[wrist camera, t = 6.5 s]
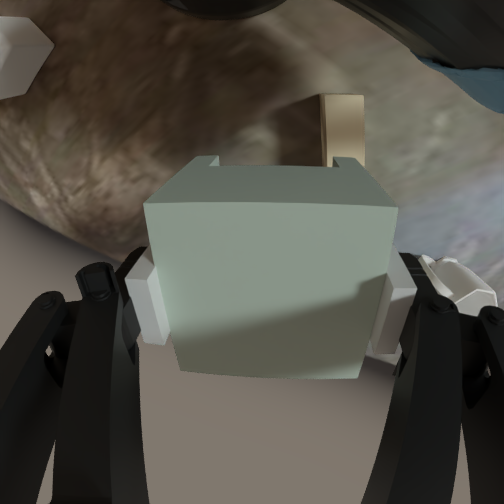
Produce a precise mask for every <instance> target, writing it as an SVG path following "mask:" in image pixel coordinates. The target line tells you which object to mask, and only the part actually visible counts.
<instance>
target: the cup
mask: <svg viewBox="0 0 504 504" xmlns="http://www.w3.org/2000/svg"><path fill="white" fill-rule="evenodd" d="M418 261H419V262H420V264H421V265H422V267H423V270H424V271H425V272H426V274H427V276H428V277H429V279H430V281H431V282H432V284H433V286H434V288H435V289H436V291H437V293H438V294H439V295H442V296H445V297H447V298H449V299H450V300H452V301H453V302H454V303H455V304H456V306H457V308H458V311H459V313H463V314H467V315H472V316H478V314H479V312H480V309H481V308H482V307H484V306H488V305H491V306H496V307H497V300H496V293H495V291H494V290H493V289H491V288H490V287H489V286H488V285H487V284H486V283H485V282H484V281H482V280H481V279H480V278H479V277H478V276H477V275H476V274H475V273H474V272H472V271H471V270H470V269H468V268H466V267H465V266H463V265H462V264H459V263H458V262H457V260H456V259H454V258H450V257H446V256H445V257H443V258H441V259H440V260H438V261H434V260H433V259H432V258H430V257H429V256H426V255H422V256H421V257H420V258H419V259H418ZM428 265H429V266H431V269H430V267H429V266H428Z"/></svg>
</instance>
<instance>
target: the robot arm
mask: <svg viewBox="0 0 504 504" xmlns="http://www.w3.org/2000/svg"><path fill="white" fill-rule="evenodd" d="M161 1H162V2H164V3H165V4H167V5H169V6H171V7H172V8H174V9H176V10H177V11H180V12H182V13H184V14H187V15H190V16H193V17H197V18H202V19H209V20H232V19H240V18H245V17H250V16H254V15H257V14H260V13H263V12H266V11H268V10H270V9H273V8H275V7H276V6H278V5H280V4H282V3H283V2H285V1H286V0H161ZM334 1H336V2H338V3H340V4H342V5H343V6H345V7H347V8H349V9H351V10H352V11H354V12H356V13H357V14H359V15H361V16H362V17H364V18H366V19H367V20H369V21H370V22H372V23H373V24H375V25H376V26H378V27H379V28H381V29H382V30H384V31H385V32H387V33H388V34H390V35H391V36H393V37H394V38H395V39H397V40H398V41H400V42H401V43H402V44H404V45H405V46H406V47H408V48H409V49H410V51H411V52H412V53H413V54H414V55H415V56H416V57H417V58H418V60H420V61H421V62H422V63H423V64H425V65H427V66H428V67H430V68H432V69H434V70H437V71H439V72H442V73H443V74H444V75H446V76H447V77H448V78H449V79H451V80H452V81H453V82H454V83H455V84H457V85H458V86H459V87H460V88H461V89H463V90H464V91H465V92H466V93H467V94H468V95H469V96H471V97H472V98H473V99H474V100H476V101H477V102H479V103H480V104H482V105H483V106H485V107H487V108H489V109H491V110H493V111H495V112H497V113H502V114H504V0H334ZM75 277H76V280H77V283H78V286H79V289H80V291H81V294H82V297H83V298H82V300H80V301H72V302H65V299H64V297H63V295H62V294H61V293H60V292H58V291H49V292H46V293H43V294H41V295H40V296H39V297H37V298H36V299H35V300H34V301H33V302H32V304H31V305H30V307H29V308H28V309H27V311H26V312H25V314H24V315H23V317H22V318H21V320H20V321H19V322H18V324H17V325H16V327H15V328H14V330H13V331H12V333H11V334H10V336H9V337H8V339H7V340H6V342H5V344H4V345H3V346H2V348H1V350H0V504H36V502H37V498H38V494H39V491H40V487H41V484H42V480H43V477H44V473H45V470H46V467H47V463H48V460H49V457H50V454H51V451H52V448H53V445H54V442H55V452H54V468H53V491H52V500H51V502H50V504H149V497H148V490H147V482H146V473H145V464H144V453H143V441H142V428H141V411H140V385H139V347H138V344H137V342H136V339H137V337H138V335H139V333H140V331H141V334H142V336H143V340H144V343H150V344H158V345H165V342H166V340H167V338H168V335H169V333H170V327H169V323H168V319H167V315H166V310H165V306H164V302H163V297H162V293H161V288H160V284H159V279H158V274H157V270H156V266H155V265H154V261H153V256H152V251H151V245H149V246H148V247H139V248H137V249H136V250H134V251H133V252H131V253H130V254H129V256H128V257H127V258H126V259H125V261H124V262H123V263H122V264H121V266H120V267H119V269H118V270H117V271H116V272H115V273H114V269H113V266H112V265H111V264H109V263H105V262H97V263H93V264H90V265H87V266H85V267H83V268H82V269H81V270H79V271H78V272H77V274H76V276H75ZM370 340H371V344H372V348H373V353H374V354H395V351H396V349H397V346H398V344H399V342H400V345H401V348H402V354H401V356H400V358H399V361H398V363H397V365H396V368H395V370H394V372H393V375H394V376H395V375H396V377H395V383H394V388H393V393H392V397H391V402H390V406H389V411H388V415H387V419H386V423H385V427H384V431H383V435H382V439H381V443H380V446H379V450H378V453H377V456H376V460H375V463H374V466H373V470H372V473H371V476H370V479H369V482H368V485H367V488H366V491H365V493H364V496H363V499H362V502H361V504H450V503H451V498H452V493H453V487H454V481H455V475H456V468H457V461H458V451H459V442H460V430H461V423H462V429H463V434H464V441H465V448H466V455H467V463H468V472H469V482H470V495H471V504H504V311H503V310H502V309H501V308H498V307H496V306H491V305H488V306H484V307H482V308H481V309H480V312H479V314H478V316H472V315H467V314H463V313H459V311H458V308H457V306H456V304H455V303H454V302H453V301H452V300H450V299H449V298H447V297H445V296H442V295H439V294H438V293H437V291H436V289H435V288H434V286H433V284H432V282H431V281H430V279H429V277H428V276H427V274H426V272H425V271H424V270H423V267H422V265H421V264H420V262H419V261H418V260H417V259H416V258H415V257H414V256H412V255H411V254H410V253H398V251H397V249H396V248H395V246H394V244H393V243H392V248H391V253H390V258H389V263H388V268H387V273H386V277H385V281H384V286H383V290H382V294H381V298H380V302H379V306H378V310H377V314H376V318H375V322H374V325H373V329H372V332H371V336H370ZM48 346H50V348H51V350H52V353H51V355H50V356H48V355H47V354H46V352H45V351H46V349H47V348H48ZM488 367H489V369H490V373H491V376H489V374H488V371H487V369H488ZM55 439H56V441H55Z"/></svg>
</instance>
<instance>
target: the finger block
mask: <svg viewBox="0 0 504 504" xmlns="http://www.w3.org/2000/svg"><path fill="white" fill-rule="evenodd" d="M143 206H144V212H145V218H146V224H147V229H148V235H149V240H150V245H151V251H152V256H153V261H154V265H155V266H156V270H157V274H158V279H159V284H160V288H161V293H162V297H163V302H164V306H165V310H166V315H167V319H168V323H169V327H170V334H171V337H172V342H173V345H174V349H175V353H176V356H177V360H178V363H179V367H180V370H181V371H188V372H197V373H206V374H217V375H230V376H244V377H261V378H287V379H340V378H341V379H342V378H343V379H345V378H358V375H359V372H360V368H361V366H362V362H363V359H364V356H365V353H366V349H367V346H368V343H369V339H370V336H371V332H372V329H373V325H374V322H375V318H376V314H377V310H378V306H379V302H380V298H381V294H382V290H383V286H384V281H385V277H386V273H387V268H388V263H389V258H390V253H391V248H392V243H393V238H394V232H395V227H396V221H397V215H398V208H399V207H398V206H397V205H396V204H395V202H394V201H393V200H392V199H391V198H390V197H389V195H388V194H387V193H386V192H385V191H384V189H383V188H382V187H381V186H380V185H379V184H378V183H377V181H376V180H375V179H374V178H373V177H372V176H371V175H370V174H369V172H368V171H367V170H366V169H365V168H364V167H363V166H362V165H361V164H360V163H359V162H358V161H357V159H356V158H352V157H335V156H333V162H332V167H316V166H275V165H239V166H219V155H211V156H196V157H195V158H194V159H193V160H192V161H190V162H189V163H188V164H187V165H186V166H184V167H183V168H182V169H181V170H180V171H179V172H178V173H176V174H175V175H174V176H173V177H172V178H171V179H170V180H168V181H167V182H166V183H165V184H164V185H163V186H162V187H161V188H159V189H158V190H157V191H156V192H155V193H154V194H153V195H152V196H151V197H150V198H148V199H147V200H146V201H145V202H144V203H143Z"/></svg>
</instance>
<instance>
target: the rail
mask: <svg viewBox="0 0 504 504" xmlns="http://www.w3.org/2000/svg"><path fill="white" fill-rule="evenodd" d="M319 101H320V119H321V142H322V167H332V162H333V156H335V157H352V158H356V159H357V161H358V162H359V163H360V164H361V165H362V166H363V167H364V152H365V139H364V96H363V95H357V94H319Z"/></svg>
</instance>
